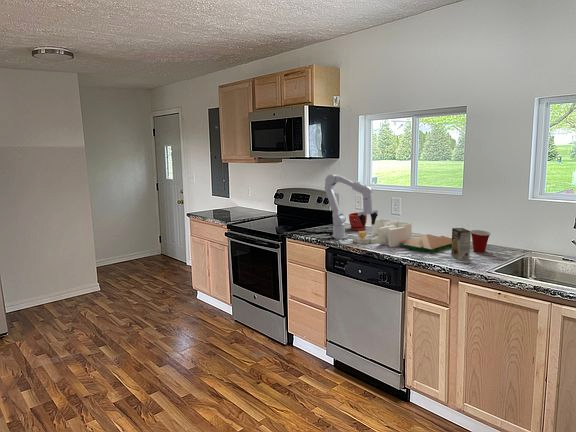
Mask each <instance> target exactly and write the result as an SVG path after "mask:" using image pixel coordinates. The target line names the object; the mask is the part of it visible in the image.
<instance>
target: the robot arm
mask: <svg viewBox="0 0 576 432" xmlns="http://www.w3.org/2000/svg"><path fill="white" fill-rule="evenodd" d="M324 181H325V183H324V191H325V194H326V196H327V199H328V202H329V205H330V208H331V211H332V215H331V216H332V223H333V227H332V235H331V237H332V238H334V239H335V240H338V239H339V240H340V239H342V240H343V239H347V236H346V233H345V232H346V229H345V225H346V224H345V222H346V220H347V218H346V216H345V215H344V212H343V211H342V210H341V208H340V206H339V202H338V199H337V196H336V193H335V191H334V187H335V186H336V185H337V183H338V184H339V183H342V184H344V185H347V186H349V187H351V189H352V190H354V191H356V192H357V193H360V194H361V195H362V206H363V208H362V209H363V210H362V211H359V212H357V213H358V217H359V218H360V220H361V223H362V226H366V225H365V217H366V216H364V215H369V216H370V220H371V221H372V224H373V225H374V224H375V220H377V217H378V215H379V210H376V209H374V210H373V198H372V193H373V188H372V187H371V186H370V185H369V186H368V185H366V184H363V183H362V182H361V181H352V180H350V179H348V178H347V177H344V176H342V175H341V174H338V173H332V174H328V175H327V176H326V177H325V179H324Z"/></svg>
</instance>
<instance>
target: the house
mask: <svg viewBox="0 0 576 432" xmlns="http://www.w3.org/2000/svg"><path fill="white" fill-rule="evenodd" d="M399 243H401V246H400V248H403V247H406V249H412V250H414V251H415V252H418V251H419V253H423V252H424V251H425V252H427V254H428V253H430V251H431V254H433V253H434V252H438V251H442V249H443V250H446V249H449V248H451V249H452V237H449V236H445V235H440V236H437V235H433V234H425V235H424V234H423V235H420V236H417V237H414V238H411V239H410V240H406V241H403V242H399ZM402 244H404V245H402Z"/></svg>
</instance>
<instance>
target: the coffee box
mask: <svg viewBox="0 0 576 432" xmlns="http://www.w3.org/2000/svg"><path fill="white" fill-rule="evenodd" d="M451 238H452V247H451V249H450V250H451V253H450V254H451V255H450V256H451V257H452V258H454V259H455V260H457V259H458V260H457V261H466V260H465V259H469V260H470V255H471V254H470V253H471V252H470V251H471V239H472V235H471V230H469V229H466V228H463V227H453V228H451Z"/></svg>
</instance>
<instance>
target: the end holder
mask: <svg viewBox="0 0 576 432" xmlns="http://www.w3.org/2000/svg"><path fill="white" fill-rule="evenodd" d="M364 239H368V244H378V235H374V238H368V237H367V236H366V237H364Z"/></svg>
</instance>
